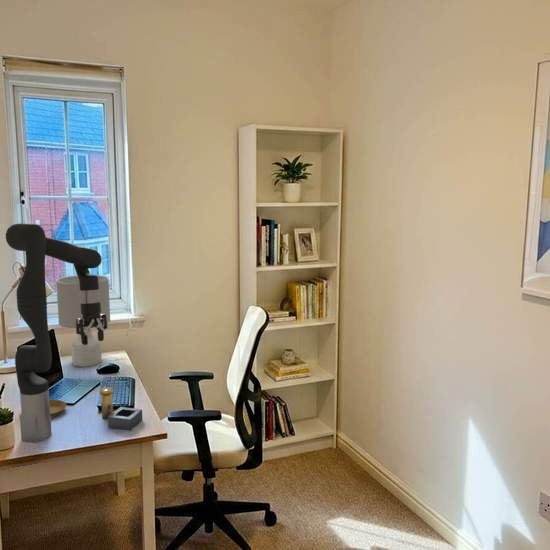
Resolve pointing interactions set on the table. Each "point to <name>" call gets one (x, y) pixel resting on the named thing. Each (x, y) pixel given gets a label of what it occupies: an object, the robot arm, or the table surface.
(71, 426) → the table surface
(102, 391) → the brass flared peg
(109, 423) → the box
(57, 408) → the plant saucer
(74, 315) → the lamp
